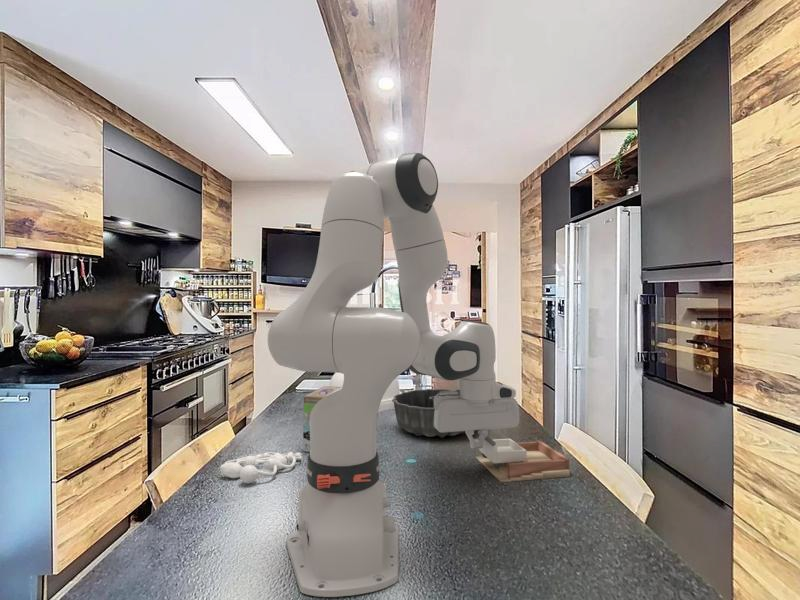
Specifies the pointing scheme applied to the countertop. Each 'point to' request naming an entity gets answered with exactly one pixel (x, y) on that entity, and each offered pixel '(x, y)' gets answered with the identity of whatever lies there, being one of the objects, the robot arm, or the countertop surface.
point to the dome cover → (387, 397)
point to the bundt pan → (419, 412)
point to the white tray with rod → (502, 451)
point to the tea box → (308, 406)
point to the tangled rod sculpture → (250, 471)
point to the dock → (531, 464)
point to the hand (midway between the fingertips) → (476, 447)
